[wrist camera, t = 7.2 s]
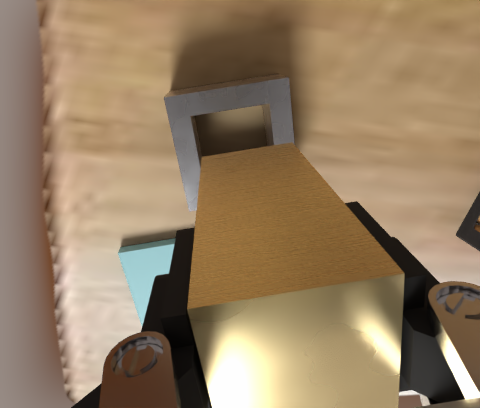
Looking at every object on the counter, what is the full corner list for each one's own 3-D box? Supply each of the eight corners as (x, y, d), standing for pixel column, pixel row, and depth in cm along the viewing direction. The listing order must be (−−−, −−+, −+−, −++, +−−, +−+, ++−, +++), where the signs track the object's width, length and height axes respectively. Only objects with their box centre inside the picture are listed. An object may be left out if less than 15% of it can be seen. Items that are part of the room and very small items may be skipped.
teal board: (120, 247, 31) (118, 253, 30) (212, 231, 31) (212, 237, 30) (143, 319, 34) (142, 326, 33) (226, 305, 34) (227, 312, 33)
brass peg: (201, 156, 16) (187, 309, 6) (292, 142, 16) (404, 273, 7) (217, 236, 17) (223, 448, 8) (299, 223, 17) (397, 419, 8)
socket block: (170, 90, 26) (164, 97, 23) (277, 73, 26) (288, 77, 23) (191, 191, 30) (189, 211, 26) (287, 175, 30) (298, 193, 26)
